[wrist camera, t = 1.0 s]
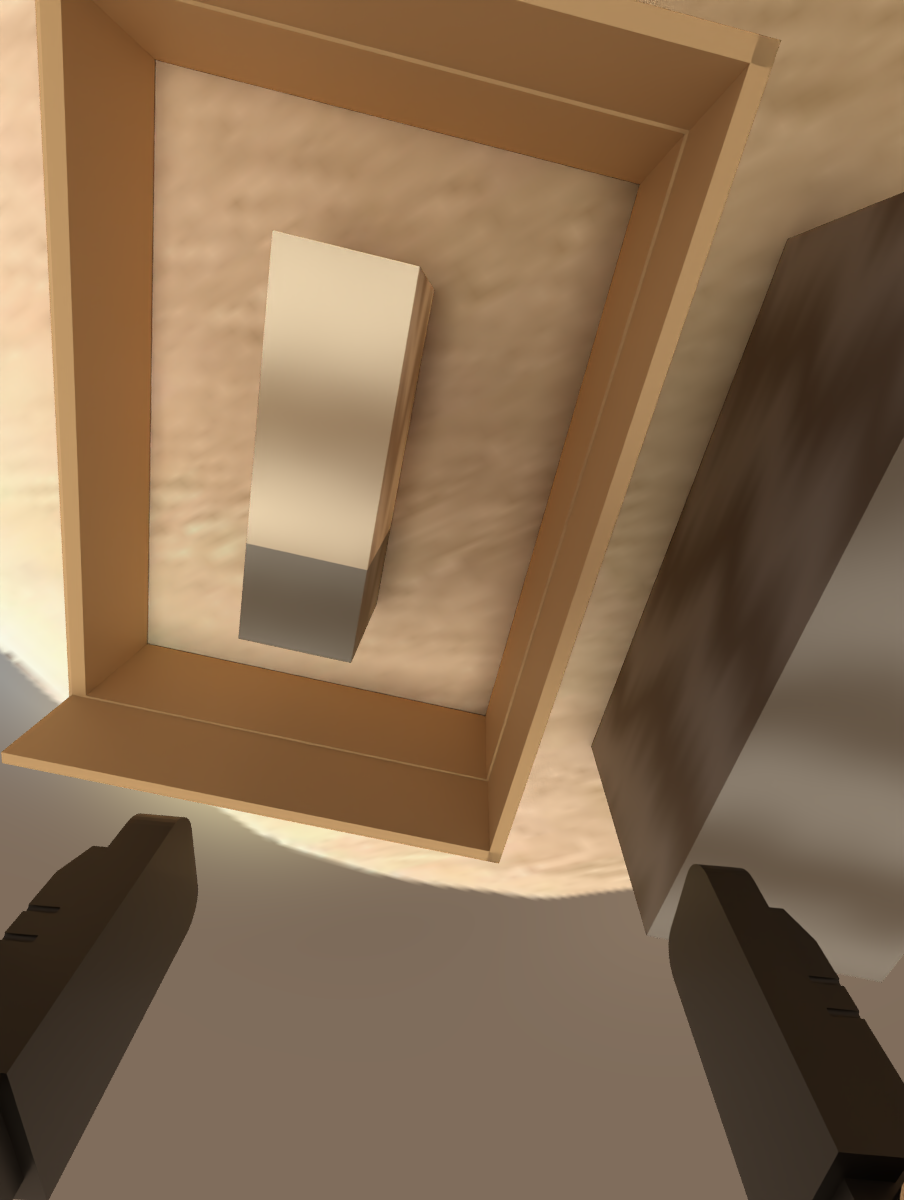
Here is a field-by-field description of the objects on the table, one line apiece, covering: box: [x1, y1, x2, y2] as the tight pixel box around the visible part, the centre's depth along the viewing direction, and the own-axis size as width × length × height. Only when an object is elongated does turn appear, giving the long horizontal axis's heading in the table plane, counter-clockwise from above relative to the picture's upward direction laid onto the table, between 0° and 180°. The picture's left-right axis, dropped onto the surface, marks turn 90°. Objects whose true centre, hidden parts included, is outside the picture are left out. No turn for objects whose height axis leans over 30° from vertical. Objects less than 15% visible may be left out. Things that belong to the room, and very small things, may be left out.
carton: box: [1, 0, 781, 863], centre depth 21 cm, size 25×20×9 cm
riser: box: [591, 192, 904, 982], centre depth 21 cm, size 24×9×11 cm, turn 168°
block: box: [239, 230, 434, 663], centre depth 23 cm, size 14×4×6 cm, turn 168°
